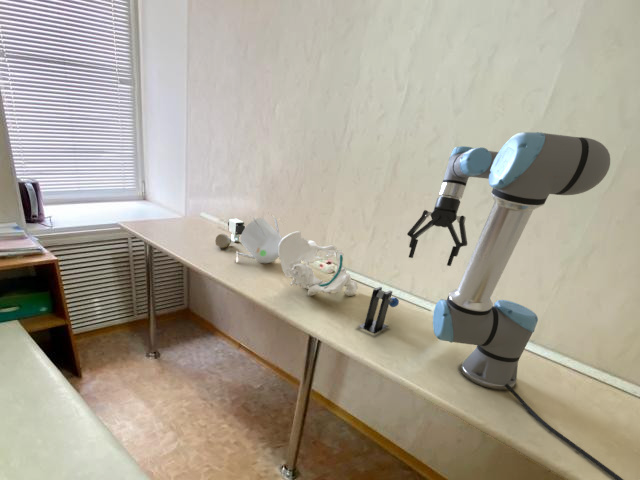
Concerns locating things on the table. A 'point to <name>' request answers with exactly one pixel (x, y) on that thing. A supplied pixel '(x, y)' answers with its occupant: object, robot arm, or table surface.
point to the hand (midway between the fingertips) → (429, 261)
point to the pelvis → (302, 249)
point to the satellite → (261, 240)
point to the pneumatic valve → (236, 228)
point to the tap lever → (393, 300)
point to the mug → (222, 240)
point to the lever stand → (370, 322)
